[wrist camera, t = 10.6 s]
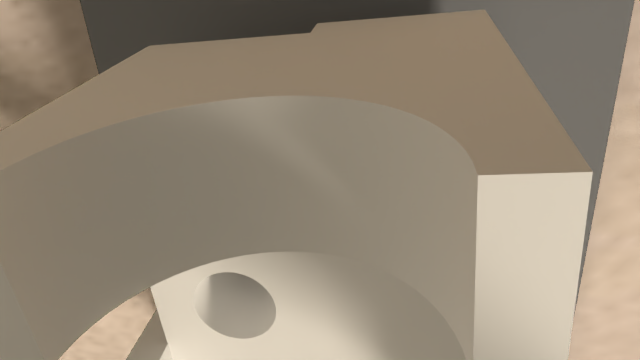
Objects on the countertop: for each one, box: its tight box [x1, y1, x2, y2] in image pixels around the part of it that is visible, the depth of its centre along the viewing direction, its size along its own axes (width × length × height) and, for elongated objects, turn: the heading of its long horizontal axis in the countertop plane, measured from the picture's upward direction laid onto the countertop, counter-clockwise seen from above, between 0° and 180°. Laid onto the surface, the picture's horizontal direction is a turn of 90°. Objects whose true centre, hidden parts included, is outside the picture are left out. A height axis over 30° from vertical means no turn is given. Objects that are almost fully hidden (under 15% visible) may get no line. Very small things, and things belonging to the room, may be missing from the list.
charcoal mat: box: [80, 0, 634, 319], centre depth 16 cm, size 18×13×1 cm
